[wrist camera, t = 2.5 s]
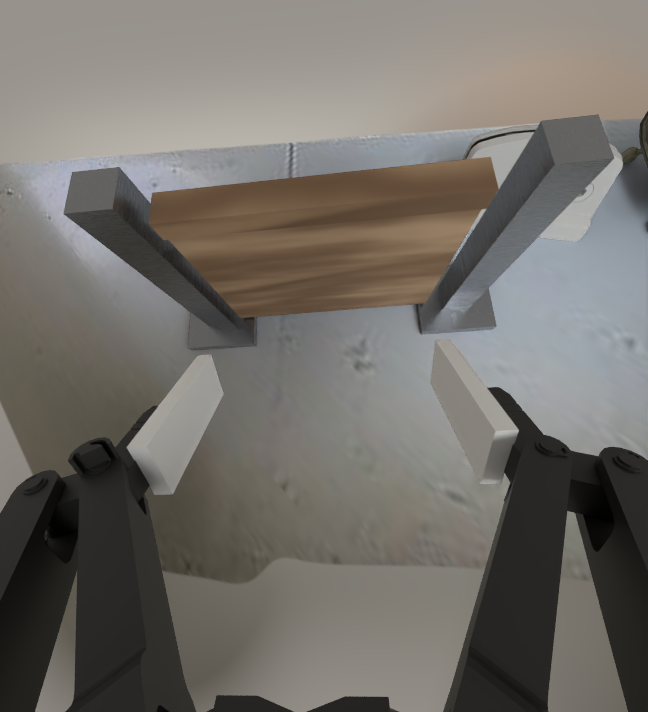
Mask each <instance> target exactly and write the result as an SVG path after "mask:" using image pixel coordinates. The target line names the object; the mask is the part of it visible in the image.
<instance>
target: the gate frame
mask: <svg viewBox="0 0 648 712" xmlns="http://www.w3.org/2000/svg"><path fill="white" fill-rule="evenodd" d="M613 159H614V155H613V152H612V150H611V147H610V145H609V142H608V139H607V137H606V134H605V131H604V129H603V126H602V123H601V121H600V118H599V115H591V116H583V117H573V118H563V119H554V120H545V121H541V122H540V124H539V126H538V127H537V129H536V130H535V132H534V134H533V135H532V137H531V138H530V140H529V142H528V143H527V145H526V146H525V148H524V150H523V151H522V153H521V154H520V156H519V158H518V159H517V161H516V162H515V164H514V166H513V167H512V169H511V170H510V172H509V174H508V175H507V177H506V179H505V180H504V182H503V183H502V185H501V187H500V188H499V190H498V191H497V193H496V195H495V196H494V198H493V199H492V201H491V203H490V204H489V206H488V207H487V209H486V211H485V212H484V214H483V215H482V217H481V219H480V220H479V222H478V223H477V225H476V227H475V228H474V230H473V232H472V233H471V235H470V236H469V238H468V240H467V241H466V243H465V244H464V246H463V248H462V249H461V251H460V252H459V254H458V256H457V257H456V259H455V260H454V262H453V264H452V265H450V266H447V268H446V270H445V271H444V273H443V275H442V276H441V278H440V280H439V281H438V283H437V285H436V286H435V288H434V290H433V291H432V293H431V295H430V296H429V298H428V300H427V301H426V303H422V304H417V307H418V314H419V321H420V328H421V334H433V333H447V332H461V331H476V330H490V329H493V328H495V327H496V322H495V317H494V312H493V308H492V303H491V298H490V293H489V289H488V288H489V287H490V286H491V285H492V284H493V283H494V282H495V281H496V280H497V279H498V278H499V276H500V275H501V274H502V273H503V272H504V271H505V270H506V269H507V268H508V267H509V266H510V265H511V264H512V263H513V262H514V261H515V260H516V259H517V258H518V257H519V256H520V255H521V254H522V253H523V252H524V251H525V250H526V249H527V248H528V247H529V246H530V245H531V244H532V243H533V242H534V241H535V240H536V238H537V237H538V236H539V235H540V234H541V233H542V232H543V231H544V230H545V229H546V228H547V227H548V226H549V225H550V224H551V223H552V222H553V221H554V220H555V219H556V218H557V217H558V216H559V215H560V214H561V213H562V212H563V211H564V210H565V209H566V208H567V207H568V206H569V205H570V204H571V203H572V202H573V200H574V199H575V198H576V197H577V196H578V195H579V194H580V193H581V192H582V191H583V190H584V189H585V188H586V187H587V186H588V185H589V184H590V183H591V182H592V181H593V180H594V179H595V178H596V177H597V176H598V175H599V174H600V173H601V172H602V171H603V170H604V169H605V168H606V167H607V166H608V165H609V164H610V162H611V161H612V160H613ZM150 208H151V204H150V203H149V201H148V200H147V199H146V198H145V197H144V196H143V194H142V193H141V192H140V191H139V190H138V189H137V187H136V186H135V185H134V184H133V183H132V182H131V180H130V179H129V178H128V177H127V176H126V175H125V173H124V172H123V171H122V170H121V169H120V168H119V167H116V168H107V169H98V170H88V171H79V172H72V176H71V180H70V185H69V190H68V195H67V200H66V204H65V209H64V215H66V216H67V217H68V218H70V219H71V220H72V221H74V222H75V223H76V224H77V225H79V226H80V227H81V228H83V229H84V230H85V231H86V232H88V233H89V234H90V235H92V236H93V237H94V238H95V239H97V240H98V241H99V242H101V243H102V244H103V245H105V246H106V247H107V248H108V249H110V250H111V251H112V252H114V253H115V254H116V255H117V256H119V257H120V258H121V259H123V260H124V261H125V262H126V263H128V264H129V265H130V266H132V267H133V268H134V269H136V270H137V271H138V272H139V273H141V274H142V275H143V276H145V277H146V278H147V279H148V280H150V281H151V282H152V283H154V284H155V285H156V286H157V287H159V288H160V289H161V290H163V291H164V292H165V293H166V294H168V295H169V296H170V297H172V298H173V299H174V300H176V301H177V302H178V303H179V304H181V305H182V306H183V307H185V308H186V309H187V310H188V311H190V324H189V338H188V348H189V349H191V350H204V349H218V348H232V347H247V346H257V317H247V318H240V317H239V316H238V315H237V314H236V312H235V311H234V310H233V309H232V308H231V307H230V306H229V305H228V304H227V303H226V302H225V300H224V299H223V298H222V297H221V296H220V295H219V294H218V293H217V292H216V291H215V290H214V289H213V287H212V286H211V285H210V284H209V283H208V282H207V281H206V280H205V279H204V278H203V277H202V276H201V274H200V273H199V272H198V271H197V270H196V269H195V268H194V267H193V266H192V265H191V264H190V263H189V261H188V260H187V259H186V258H185V257H184V256H183V255H182V254H181V253H180V252H179V251H178V250H177V248H176V247H175V246H174V245H173V244H172V243H171V242H170V241H169V240H163V239H162V238H161V237H160V236H159V235H158V234H157V233H156V231H155V230H154V229H153V228H152V227H151V226H150V225H149V217H150Z"/></svg>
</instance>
